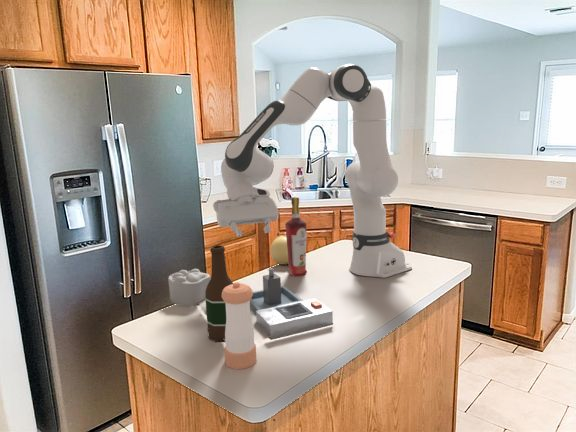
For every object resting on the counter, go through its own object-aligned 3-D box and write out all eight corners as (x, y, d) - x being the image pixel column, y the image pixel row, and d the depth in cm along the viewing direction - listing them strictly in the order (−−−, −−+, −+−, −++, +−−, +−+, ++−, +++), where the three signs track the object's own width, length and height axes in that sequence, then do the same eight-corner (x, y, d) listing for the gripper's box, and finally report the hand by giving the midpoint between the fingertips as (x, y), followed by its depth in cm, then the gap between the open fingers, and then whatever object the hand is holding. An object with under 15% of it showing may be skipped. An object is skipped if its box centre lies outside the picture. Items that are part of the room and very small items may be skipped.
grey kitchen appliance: (315, 311, 132) (314, 295, 131) (332, 324, 123) (332, 308, 122) (256, 324, 125) (255, 308, 124) (270, 340, 116) (270, 322, 115)
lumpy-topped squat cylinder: (195, 307, 137) (193, 280, 135) (161, 301, 143) (159, 275, 141) (215, 295, 146) (213, 269, 145) (182, 290, 152) (180, 265, 150)
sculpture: (306, 259, 180) (306, 233, 177) (290, 268, 170) (289, 240, 167) (282, 256, 186) (281, 230, 183) (265, 264, 176) (264, 237, 174)
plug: (276, 298, 140) (274, 265, 137) (281, 303, 136) (280, 269, 134) (263, 301, 138) (262, 268, 136) (268, 305, 134) (267, 271, 132)
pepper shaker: (248, 371, 102) (243, 290, 98) (219, 365, 104) (213, 286, 100) (261, 355, 108) (258, 278, 104) (234, 350, 111) (229, 275, 107)
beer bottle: (205, 332, 121) (199, 244, 116) (234, 327, 124) (229, 241, 119) (211, 345, 114) (204, 252, 109) (241, 339, 117) (236, 248, 111)
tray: (284, 293, 146) (284, 285, 146) (304, 308, 134) (303, 300, 133) (242, 301, 141) (242, 294, 140) (259, 318, 128) (258, 310, 128)
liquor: (300, 270, 167) (298, 194, 161) (311, 276, 161) (310, 197, 155) (283, 274, 163) (280, 197, 157) (294, 280, 157) (292, 200, 151)
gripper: (213, 195, 144) (223, 231, 137) (273, 190, 152) (285, 224, 146) (210, 206, 149) (220, 242, 142) (268, 201, 157) (280, 235, 151)
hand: (254, 233), depth 144 cm, fingers open, 8 cm apart
